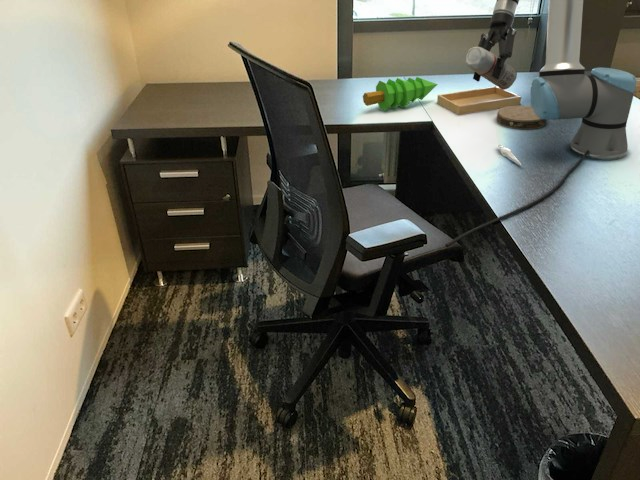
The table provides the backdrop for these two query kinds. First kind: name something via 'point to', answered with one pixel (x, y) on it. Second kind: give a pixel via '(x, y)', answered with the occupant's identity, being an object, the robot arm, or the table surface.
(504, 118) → the brown wooden disc
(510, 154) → the white toy shark
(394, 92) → the decorative tree
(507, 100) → the tray
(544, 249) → the table surface
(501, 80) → the spray can
